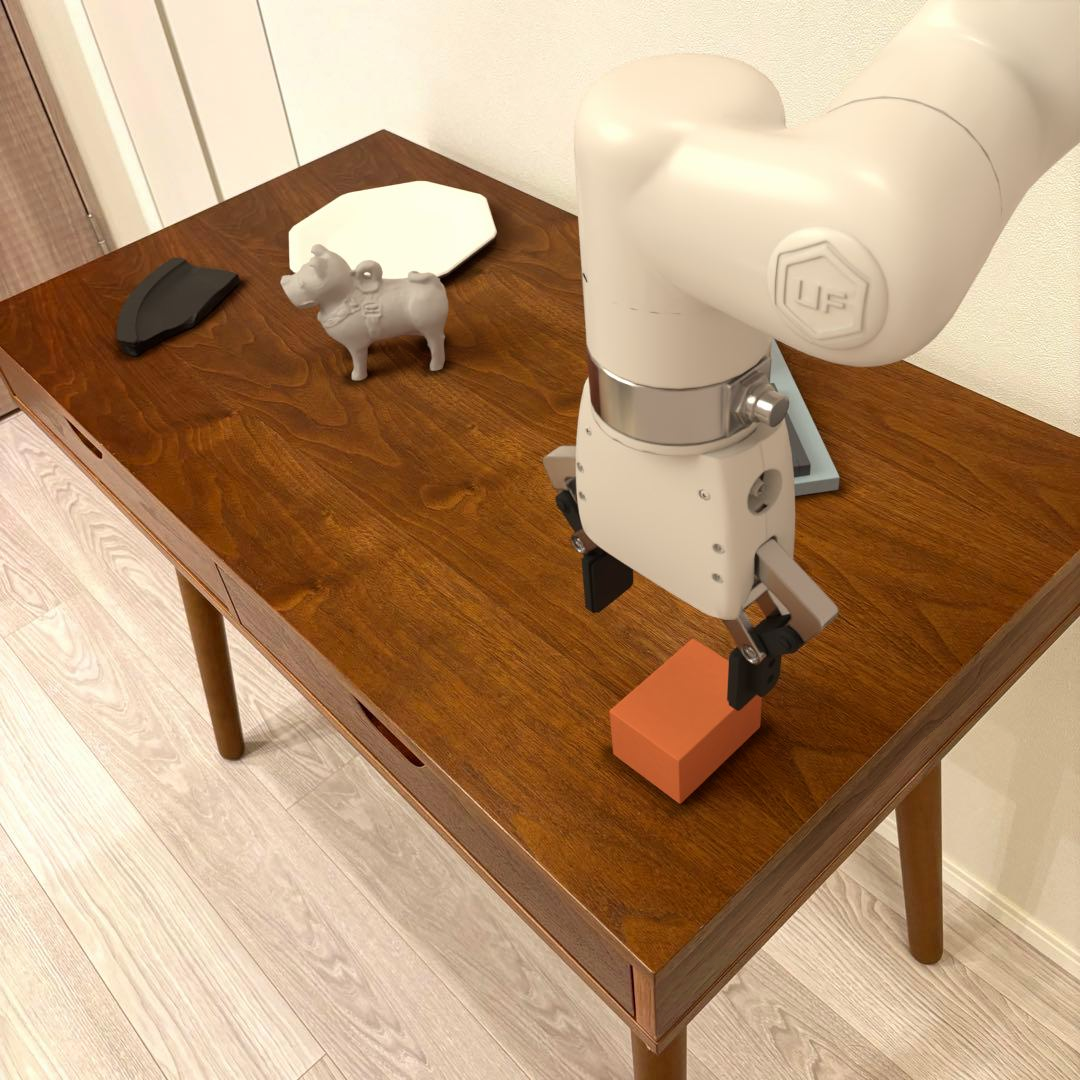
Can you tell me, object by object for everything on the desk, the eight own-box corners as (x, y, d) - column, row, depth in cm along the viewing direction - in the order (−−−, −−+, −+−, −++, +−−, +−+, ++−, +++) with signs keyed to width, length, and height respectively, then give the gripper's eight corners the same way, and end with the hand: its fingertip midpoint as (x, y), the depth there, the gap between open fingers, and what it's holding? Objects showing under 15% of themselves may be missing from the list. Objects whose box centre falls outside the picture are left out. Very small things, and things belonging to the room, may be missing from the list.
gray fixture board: (765, 334, 94) (768, 278, 90) (838, 490, 79) (845, 430, 76) (621, 354, 94) (618, 299, 90) (667, 515, 79) (665, 456, 75)
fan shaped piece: (83, 347, 103) (76, 331, 102) (175, 271, 111) (170, 256, 110) (156, 361, 100) (150, 345, 99) (245, 282, 108) (240, 266, 107)
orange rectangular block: (612, 754, 65) (608, 710, 62) (693, 682, 68) (692, 637, 65) (680, 805, 62) (679, 761, 59) (760, 727, 65) (763, 682, 62)
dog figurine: (308, 354, 98) (276, 242, 91) (455, 333, 98) (435, 219, 91) (305, 390, 94) (271, 275, 87) (458, 367, 94) (437, 251, 87)
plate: (291, 216, 118) (287, 202, 116) (479, 183, 119) (477, 170, 118) (294, 315, 103) (290, 300, 102) (508, 277, 104) (506, 262, 103)
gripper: (909, 411, 45) (860, 687, 57) (591, 269, 54) (606, 530, 66) (792, 509, 41) (766, 782, 53) (474, 339, 51) (512, 601, 63)
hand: (677, 642), depth 60 cm, fingers open, 9 cm apart
